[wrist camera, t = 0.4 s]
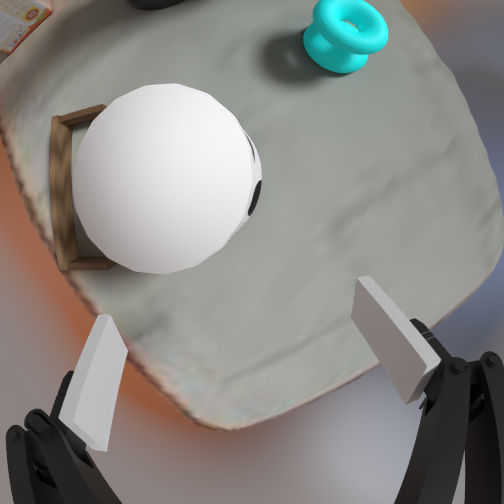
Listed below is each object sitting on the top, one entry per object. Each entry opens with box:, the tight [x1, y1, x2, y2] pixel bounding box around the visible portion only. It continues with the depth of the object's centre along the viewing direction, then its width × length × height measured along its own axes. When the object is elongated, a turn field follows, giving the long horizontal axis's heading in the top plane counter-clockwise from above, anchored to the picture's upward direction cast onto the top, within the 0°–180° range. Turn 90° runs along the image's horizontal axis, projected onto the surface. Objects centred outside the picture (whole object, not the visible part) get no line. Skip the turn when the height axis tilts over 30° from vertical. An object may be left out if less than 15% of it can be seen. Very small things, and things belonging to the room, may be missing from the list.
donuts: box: [303, 0, 388, 73], centre depth 26 cm, size 10×10×10 cm
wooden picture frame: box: [50, 104, 118, 271], centre depth 34 cm, size 24×9×4 cm, turn 0°
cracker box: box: [0, 0, 53, 54], centre depth 16 cm, size 14×6×21 cm, turn 117°
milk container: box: [72, 84, 262, 275], centre depth 27 cm, size 17×17×18 cm
